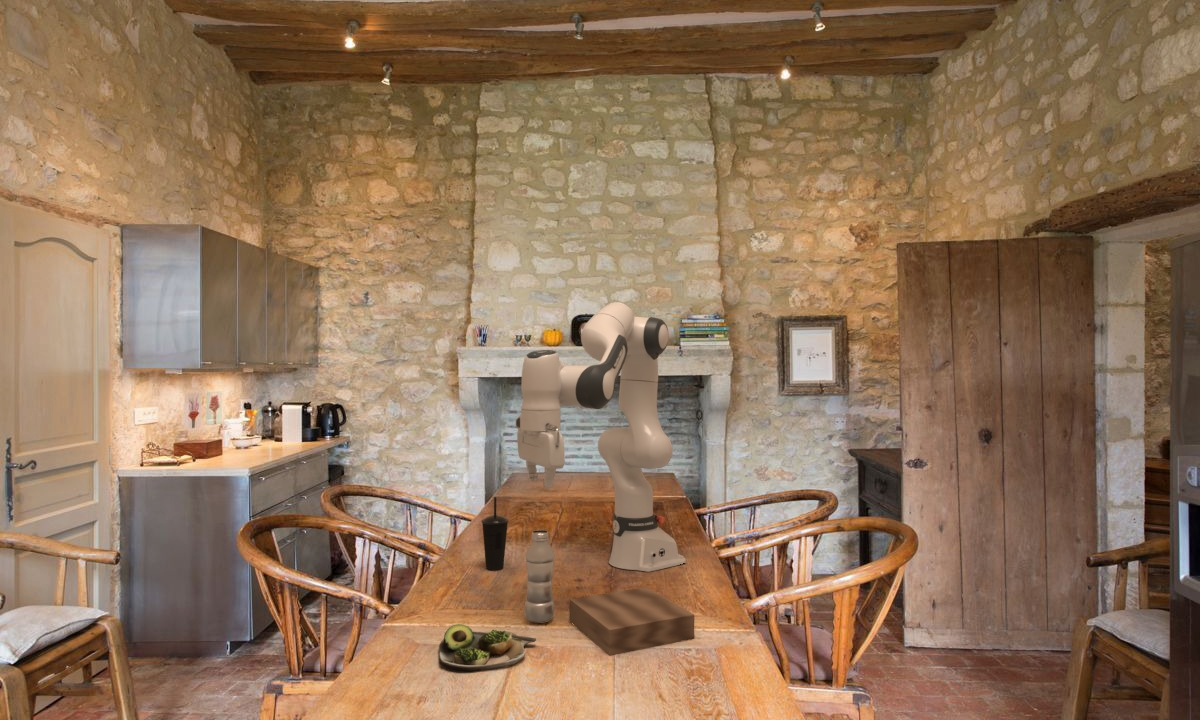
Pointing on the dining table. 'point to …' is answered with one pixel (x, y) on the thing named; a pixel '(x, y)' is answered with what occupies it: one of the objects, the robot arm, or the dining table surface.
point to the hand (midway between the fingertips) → (540, 484)
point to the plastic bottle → (539, 578)
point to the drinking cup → (494, 540)
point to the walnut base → (630, 620)
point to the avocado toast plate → (479, 648)
